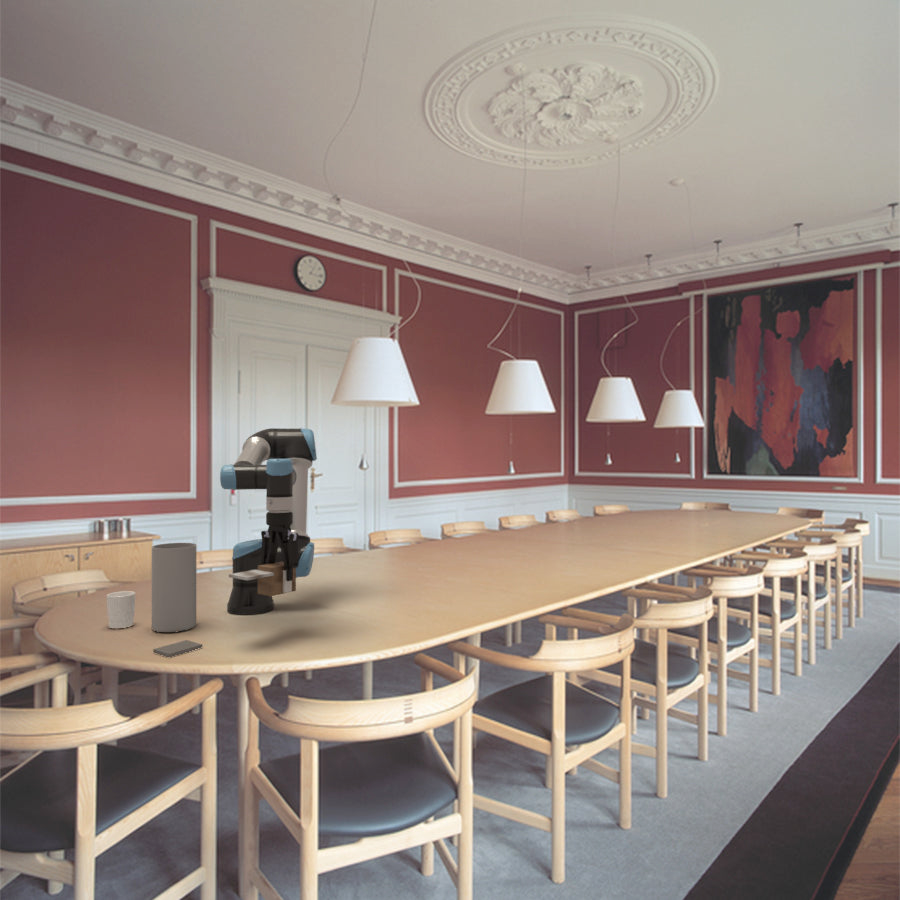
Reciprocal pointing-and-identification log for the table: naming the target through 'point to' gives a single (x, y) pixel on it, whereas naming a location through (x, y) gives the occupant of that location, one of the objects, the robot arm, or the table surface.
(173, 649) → the tile
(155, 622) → the cylinder vase
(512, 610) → the table surface
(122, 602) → the white cup
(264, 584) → the wood block with tab
